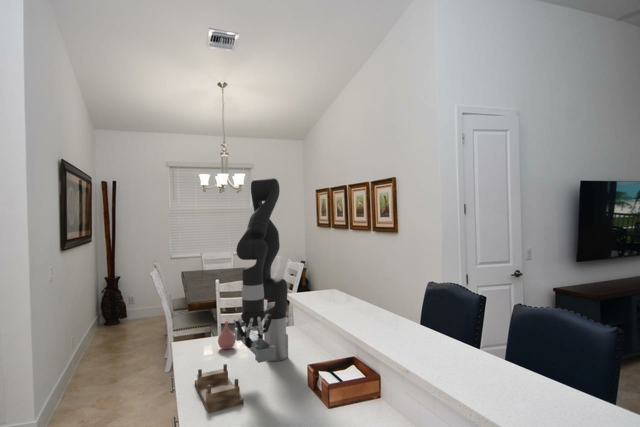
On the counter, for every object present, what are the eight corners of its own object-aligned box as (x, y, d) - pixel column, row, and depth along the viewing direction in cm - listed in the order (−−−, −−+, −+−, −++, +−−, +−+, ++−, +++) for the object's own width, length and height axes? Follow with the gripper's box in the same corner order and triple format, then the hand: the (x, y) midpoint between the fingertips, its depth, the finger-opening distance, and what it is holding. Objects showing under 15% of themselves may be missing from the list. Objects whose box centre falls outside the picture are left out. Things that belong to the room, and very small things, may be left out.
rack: (225, 377, 140) (225, 360, 140) (243, 403, 121) (243, 383, 121) (194, 384, 134) (194, 366, 134) (208, 412, 115) (208, 391, 115)
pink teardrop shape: (229, 352, 165) (229, 325, 165) (214, 350, 168) (214, 323, 168) (238, 346, 173) (238, 320, 173) (224, 344, 175) (223, 319, 175)
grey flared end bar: (250, 335, 144) (250, 325, 144) (276, 359, 122) (276, 346, 122) (234, 338, 142) (234, 328, 142) (258, 362, 119) (258, 350, 119)
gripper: (268, 292, 138) (269, 339, 138) (229, 297, 131) (230, 346, 132) (276, 296, 132) (276, 345, 132) (236, 301, 125) (237, 353, 125)
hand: (253, 345), depth 132 cm, fingers closed on grey flared end bar, 3 cm apart
